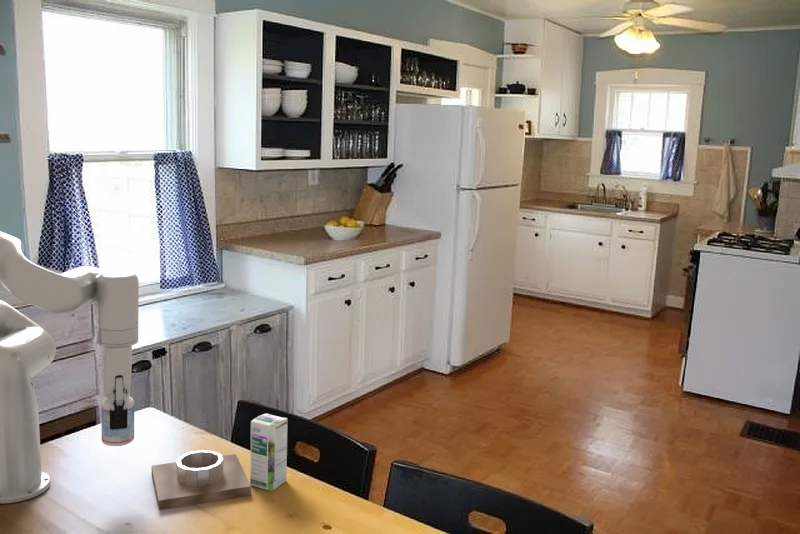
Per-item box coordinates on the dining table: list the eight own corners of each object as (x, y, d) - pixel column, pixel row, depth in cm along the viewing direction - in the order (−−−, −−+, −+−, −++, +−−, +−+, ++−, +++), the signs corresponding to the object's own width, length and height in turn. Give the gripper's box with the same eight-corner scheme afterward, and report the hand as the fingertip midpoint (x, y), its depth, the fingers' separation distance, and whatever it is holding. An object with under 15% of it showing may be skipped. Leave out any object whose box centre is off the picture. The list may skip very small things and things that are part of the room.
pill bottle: (111, 433, 149) (111, 380, 147) (139, 436, 148) (140, 384, 146) (95, 445, 143) (95, 390, 141) (124, 449, 142) (124, 394, 140)
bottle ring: (180, 489, 146) (179, 472, 145) (174, 469, 154) (174, 454, 154) (226, 482, 150) (226, 466, 149) (218, 463, 158) (218, 448, 157)
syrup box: (249, 485, 153) (249, 420, 150) (265, 474, 158) (266, 411, 155) (271, 492, 150) (272, 426, 148) (287, 480, 155) (288, 416, 153)
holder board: (158, 510, 142) (158, 500, 141) (151, 474, 156) (151, 465, 156) (250, 495, 149) (250, 486, 148) (235, 462, 163) (235, 454, 163)
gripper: (96, 323, 148) (96, 407, 151) (98, 348, 132) (98, 441, 135) (135, 322, 151) (134, 404, 154) (141, 346, 135) (141, 437, 138)
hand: (117, 420), depth 144 cm, fingers closed on pill bottle, 6 cm apart
